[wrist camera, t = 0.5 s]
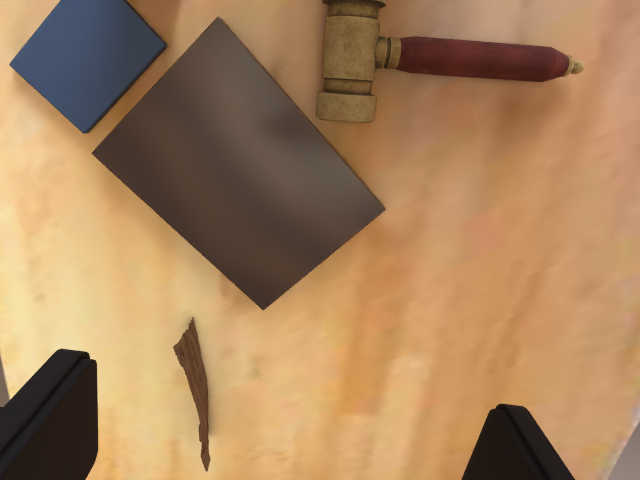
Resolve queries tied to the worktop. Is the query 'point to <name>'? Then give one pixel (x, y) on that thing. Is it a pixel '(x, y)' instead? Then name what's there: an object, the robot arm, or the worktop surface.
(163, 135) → the walnut board
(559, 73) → the gavel
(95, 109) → the blue box
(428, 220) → the worktop surface
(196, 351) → the wood plank
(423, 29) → the worktop surface
